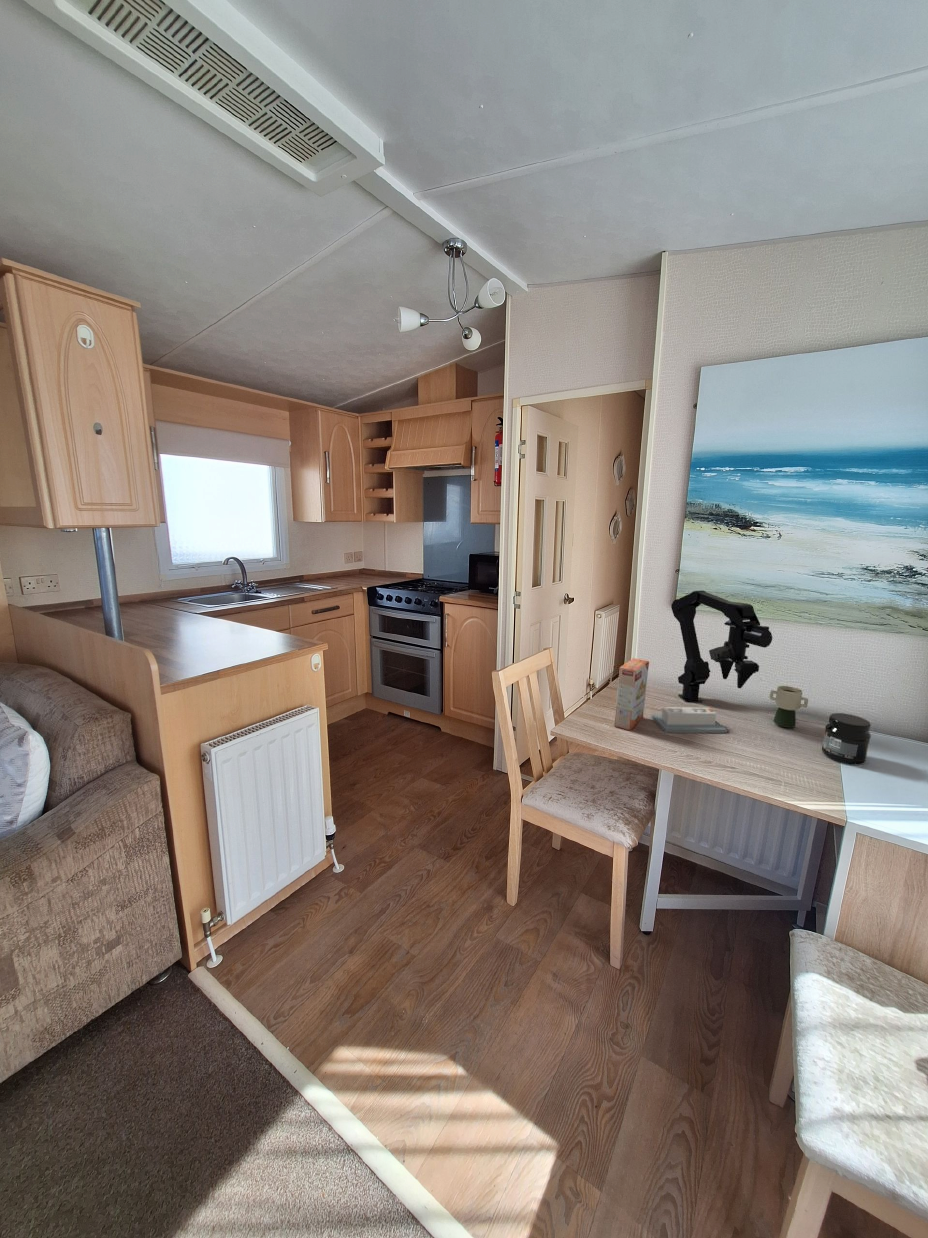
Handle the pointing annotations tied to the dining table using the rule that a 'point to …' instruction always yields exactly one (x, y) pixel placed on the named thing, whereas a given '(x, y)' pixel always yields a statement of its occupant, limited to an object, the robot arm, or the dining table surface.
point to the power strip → (688, 716)
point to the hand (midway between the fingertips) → (731, 683)
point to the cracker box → (631, 693)
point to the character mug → (787, 705)
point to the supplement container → (846, 738)
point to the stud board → (688, 726)
